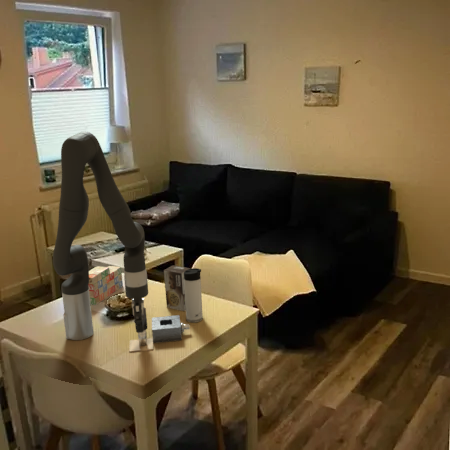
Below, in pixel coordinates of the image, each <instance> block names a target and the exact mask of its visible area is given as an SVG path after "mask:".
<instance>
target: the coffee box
mask: <svg viewBox="0 0 450 450" xmlns="http://www.w3.org/2000/svg"><path fill="white" fill-rule="evenodd" d="M188 269H192V268H191V267H190V268H189V267H185V266H180V265H170V266H169V267H167V268H166V269H163V276H164V288H165V289H164V290H165V299H166V301H165V302H166V308H168V309H171V310H177V311H180V312H181V311H182V312H186V306H185V289H184V272H185V271H186V270H188Z"/></svg>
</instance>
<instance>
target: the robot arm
mask: <svg viewBox="0 0 450 450" xmlns="http://www.w3.org/2000/svg"><path fill="white" fill-rule="evenodd" d="M60 160H61V163H60V164H61V180H60V181H61V182H60V197H59V203H58V204H59V206H58V221H57V222H58V223H57V233H56V239H55V243H54V248H53V254H52V265H53V266H52V267H53V269H54V271H55V272H56V274H57V275H59V276H68V275H70V276H69V277H68V278H66V279H65V280H64V281H63V282H62V283H61V285H60V286H61V288H60V289H61V295H62V304H63V310H64V311H63V315H62V317H63V323H64V330H65V338H66V340H73V341H81V340H84V339H85V340H86V339H88V338H90V337H91V336H93V335H94V324H93V316H92V306H91V305H92V304H90V296H89V287H88V284H89V271H90V270H89V268H90V267H89V257H88V253H87V251H86V249H85V247H84V246H83V245H81V244H75V245H74V244H73V242H74V240H75V239H76V237H77V236H78V234H80V231H81V230H82V228H83V227H84V226H85V223H86V222H87V219H88V216H89V215H88V214H89V205H90V199H89V196H88V192H87V190H86V188H85V185H84V174H85V168H86V165H88V167H89V168H90V170H91V171H92V174H93V177H94V179H95V184H96V190H97V191H96V192H97V196H98V199H99V202H100V204H101V206H102V208H103V209H104V211H105V213H106V214H107V216H108V218H109V219H110V221H111V224H112V226H113V228H114V232H115V234H116V236H117V239H118V240H119V241H120V243H121V244H122V245H123V246H124V252H123V269H124V271H123V272H124V274H123V275H124V276H123V278H124V279H123V280H124V290H125V296H126V298H128V299H131V308H132V315H133V318H134V321H133V322H134V324H135V323H136V327H135V332H136V333H137V334H138V333H140V332H143V325H142V321H143V319H142V315H143V314H144V313H143V307H144V306H145V305H144V304H145V303H144V302H145V298H146V297H147V296H148V295H149V284H148V274H147V273H148V272H147V266H146V258H145V243H146V242H145V241H146V240H145V231H144V228H143V226H142V225H141V224H140V223H139V222H137V221H134V219H133V217H132V216H131V209H130V207H129V205H128V203H127V202H126V200H125V198H124V197H123V195H122V193H121V191H120V189H119V187H118V185H117V184H116V181H115V179H114V177H113V174H112V172H111V170H110V167H109V164H108V161H107V160H106V157H105V154H104V152H103V149H102V146H101V144H100V142H99V140H98V138H97V137H96V136H95V135H94V134H93V133H91V132H89V131H81V132H78V133H75V134H73V135H72V136H69V137H67V138H66V139H65V140H64V141H63V143H62V145H61V149H60ZM144 308H145V307H144ZM141 310H142V312H141ZM136 316H140V319H136Z"/></svg>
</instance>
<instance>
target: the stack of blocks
mask: <svg viewBox="0 0 450 450" xmlns="http://www.w3.org/2000/svg"><path fill="white" fill-rule="evenodd" d="M88 287H89V296H90V305H94V306H95V305H98V304H99V303H101V302H102V301H104V300H105V299H107V298H108V297H109V296H111V295H112V294H114V293H115V292H116V291H118V290H120V289H121V288H122V287H124V285H123V274H122V266H113V265H108V266H98V265H97V266H95V267H94V268H92V269H90V270H89V284H88Z"/></svg>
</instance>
